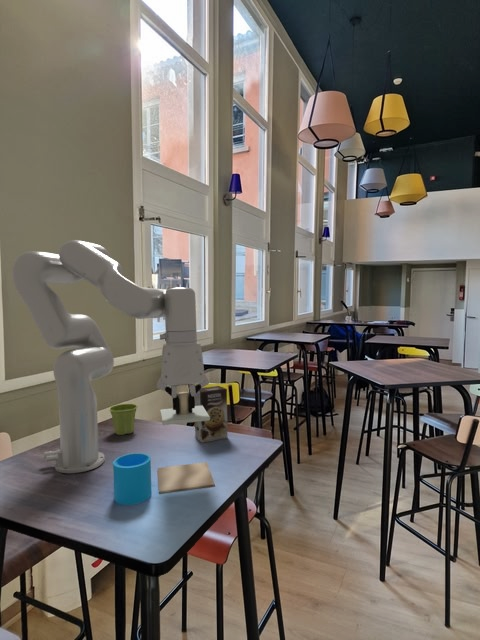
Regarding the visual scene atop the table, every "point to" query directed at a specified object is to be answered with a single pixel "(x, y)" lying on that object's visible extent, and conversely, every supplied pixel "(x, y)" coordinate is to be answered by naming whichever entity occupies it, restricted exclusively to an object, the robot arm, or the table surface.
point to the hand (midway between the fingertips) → (183, 411)
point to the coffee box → (212, 414)
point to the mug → (132, 478)
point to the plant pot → (123, 418)
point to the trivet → (184, 477)
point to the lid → (183, 412)
